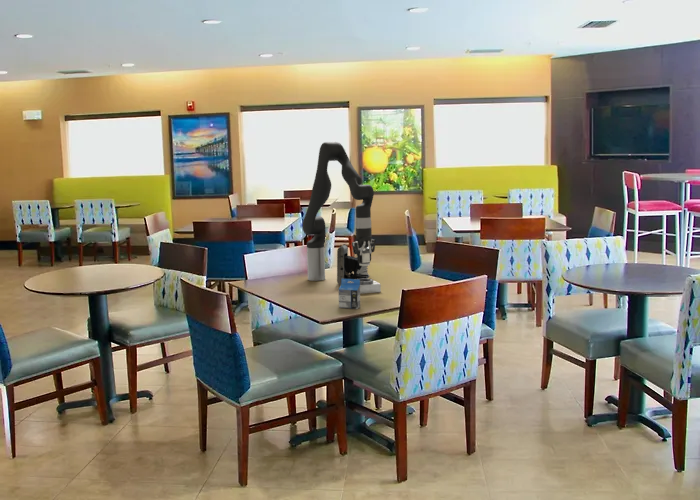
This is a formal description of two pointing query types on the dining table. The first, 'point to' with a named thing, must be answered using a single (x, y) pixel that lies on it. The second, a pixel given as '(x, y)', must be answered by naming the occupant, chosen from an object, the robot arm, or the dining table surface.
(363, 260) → the cream grey cylinder
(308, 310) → the dining table surface
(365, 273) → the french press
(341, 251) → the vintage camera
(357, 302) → the blue printed box
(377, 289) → the octagonal ring slab
